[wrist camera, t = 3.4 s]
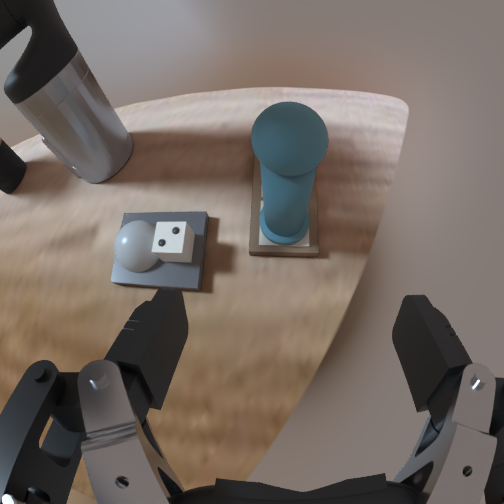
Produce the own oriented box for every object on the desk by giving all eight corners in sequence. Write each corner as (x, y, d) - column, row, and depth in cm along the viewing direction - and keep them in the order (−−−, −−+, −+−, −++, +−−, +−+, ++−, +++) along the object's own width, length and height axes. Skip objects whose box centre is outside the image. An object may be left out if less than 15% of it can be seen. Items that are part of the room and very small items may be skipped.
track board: (249, 255, 27) (248, 250, 26) (256, 131, 33) (256, 124, 31) (317, 256, 27) (319, 252, 26) (309, 133, 32) (310, 125, 31)
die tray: (123, 286, 29) (94, 274, 24) (134, 223, 32) (111, 201, 26) (204, 293, 28) (188, 281, 23) (211, 222, 31) (199, 197, 25)
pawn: (258, 244, 26) (242, 143, 13) (261, 200, 28) (248, 86, 14) (309, 246, 26) (341, 146, 12) (308, 201, 27) (329, 88, 14)
